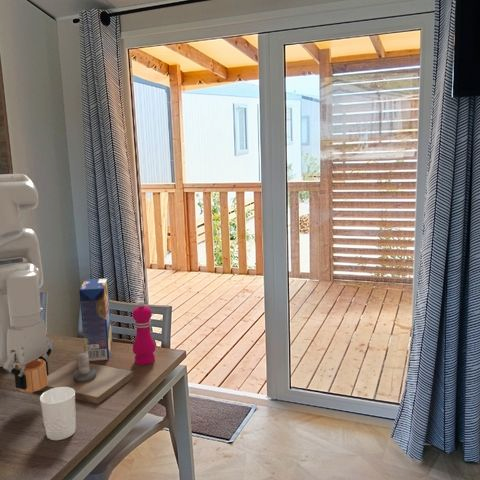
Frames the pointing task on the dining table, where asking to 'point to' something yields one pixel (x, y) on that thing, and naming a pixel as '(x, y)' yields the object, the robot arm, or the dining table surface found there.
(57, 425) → the white cup
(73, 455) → the dining table surface
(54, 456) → the dining table surface
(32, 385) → the ring
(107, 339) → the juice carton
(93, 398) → the post board
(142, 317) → the pepper mill
